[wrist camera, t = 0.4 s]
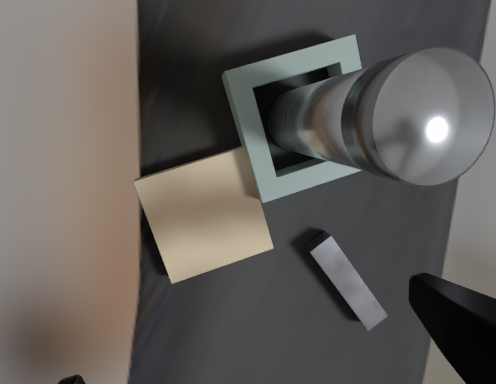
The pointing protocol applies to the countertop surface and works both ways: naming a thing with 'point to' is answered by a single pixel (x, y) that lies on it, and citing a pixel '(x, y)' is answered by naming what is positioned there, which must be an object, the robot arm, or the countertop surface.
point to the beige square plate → (204, 213)
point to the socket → (250, 126)
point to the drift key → (346, 280)
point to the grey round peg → (394, 117)
